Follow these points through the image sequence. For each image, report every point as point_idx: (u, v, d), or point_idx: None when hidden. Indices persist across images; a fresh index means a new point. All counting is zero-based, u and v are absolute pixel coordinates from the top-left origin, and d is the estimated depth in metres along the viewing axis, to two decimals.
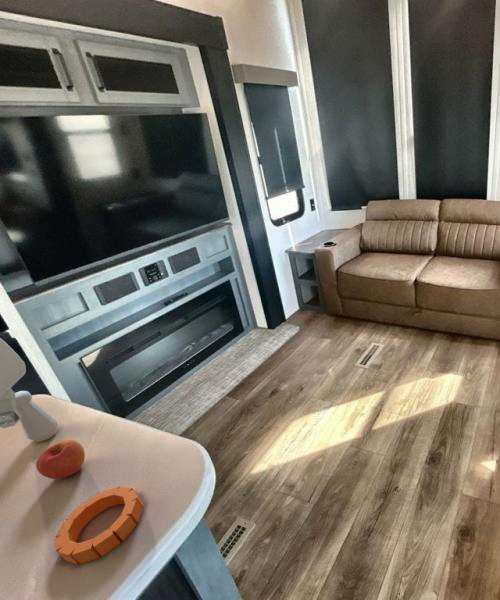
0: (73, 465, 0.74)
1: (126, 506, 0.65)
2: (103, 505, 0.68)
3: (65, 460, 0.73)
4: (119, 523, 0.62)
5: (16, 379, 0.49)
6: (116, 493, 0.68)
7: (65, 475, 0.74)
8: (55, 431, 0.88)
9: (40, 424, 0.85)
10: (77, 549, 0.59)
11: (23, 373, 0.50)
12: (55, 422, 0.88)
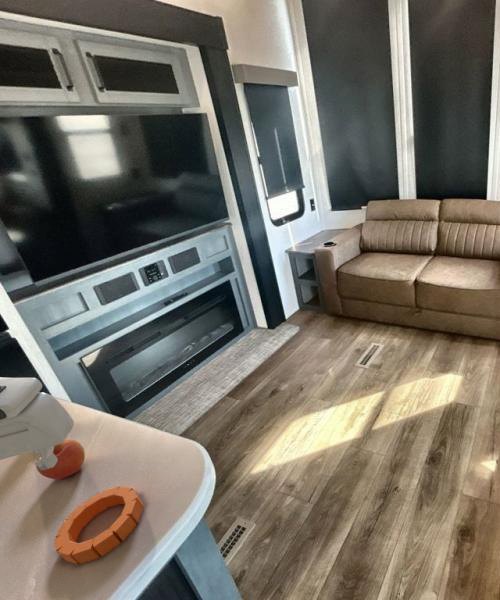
0: (73, 465, 0.74)
1: (126, 506, 0.65)
2: (103, 505, 0.68)
3: (65, 460, 0.73)
4: (119, 523, 0.62)
5: None
6: (116, 493, 0.68)
7: (65, 475, 0.74)
8: None
9: None
10: (77, 549, 0.59)
11: None
12: None
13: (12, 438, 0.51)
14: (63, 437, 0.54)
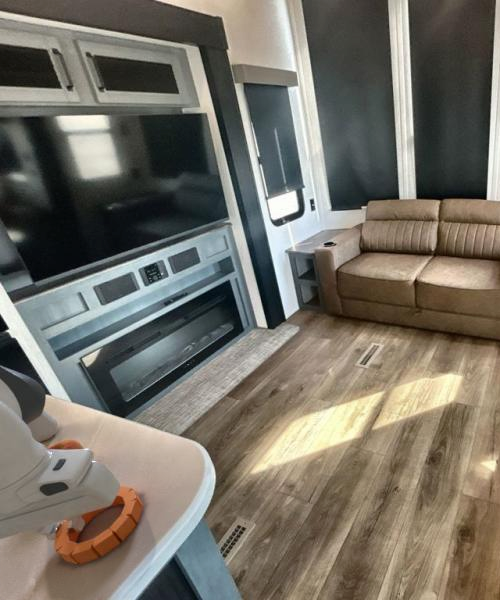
0: None
1: (126, 506, 0.65)
2: None
3: None
4: (119, 523, 0.62)
5: None
6: None
7: None
8: (55, 431, 0.88)
9: (40, 424, 0.85)
10: (77, 549, 0.59)
11: None
12: (55, 422, 0.88)
13: (70, 504, 0.59)
14: (112, 500, 0.61)
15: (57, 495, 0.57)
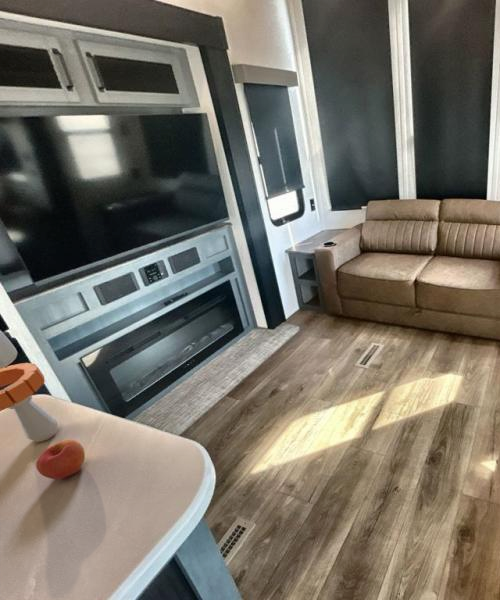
0: (73, 465, 0.74)
1: (24, 375, 0.69)
2: (6, 378, 0.72)
3: (65, 460, 0.73)
4: (13, 386, 0.66)
5: None
6: (19, 367, 0.72)
7: (65, 475, 0.74)
8: (55, 431, 0.88)
9: (40, 424, 0.85)
10: None
11: None
12: (55, 422, 0.88)
13: None
14: (6, 362, 0.65)
15: None
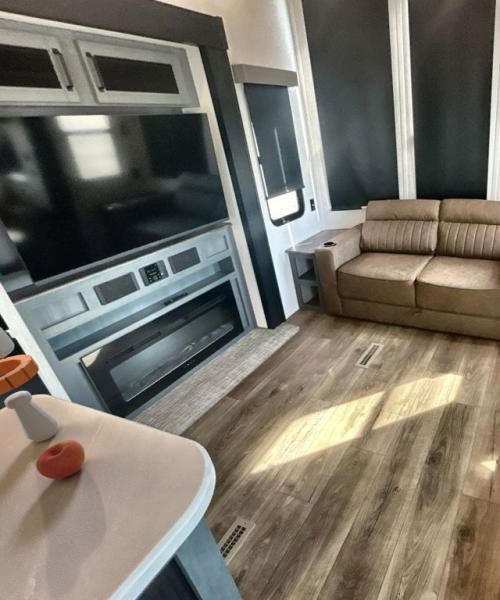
0: (73, 465, 0.74)
1: (21, 364, 0.80)
2: (5, 368, 0.83)
3: (65, 460, 0.73)
4: (11, 373, 0.77)
5: None
6: (16, 358, 0.83)
7: (65, 475, 0.74)
8: (55, 431, 0.88)
9: (40, 424, 0.85)
10: None
11: None
12: (55, 422, 0.88)
13: None
14: (5, 353, 0.76)
15: None
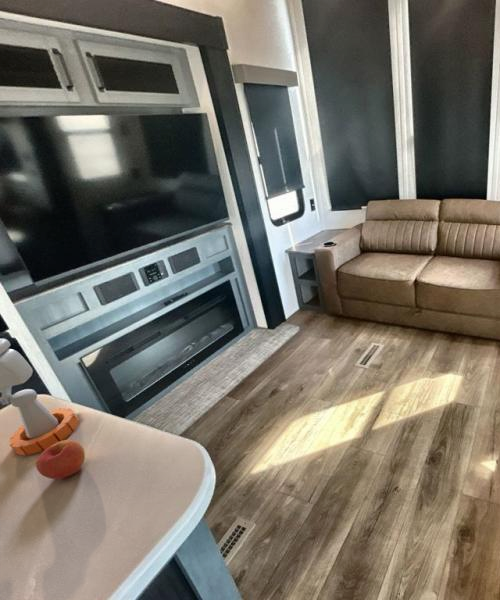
0: (73, 465, 0.74)
1: (64, 418, 0.88)
2: None
3: (65, 460, 0.73)
4: (58, 428, 0.85)
5: None
6: (58, 412, 0.91)
7: (65, 475, 0.74)
8: None
9: (43, 423, 0.85)
10: (25, 443, 0.82)
11: None
12: (56, 422, 0.88)
13: None
14: (24, 379, 0.80)
15: None
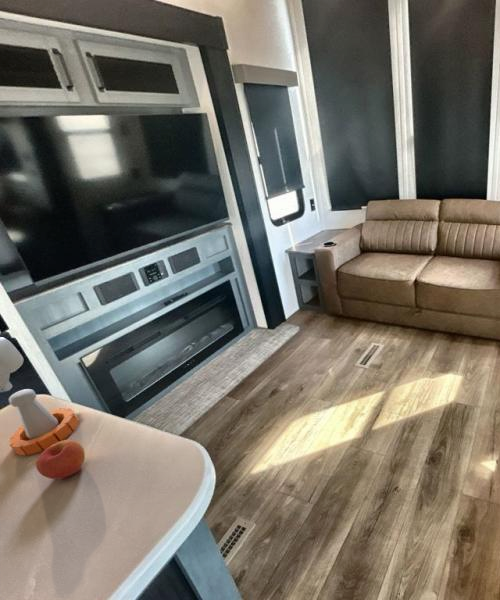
0: (73, 465, 0.74)
1: (64, 418, 0.88)
2: None
3: (65, 460, 0.73)
4: (58, 428, 0.85)
5: None
6: (58, 412, 0.91)
7: (65, 475, 0.74)
8: None
9: (42, 423, 0.85)
10: (25, 443, 0.82)
11: None
12: (56, 421, 0.88)
13: None
14: (14, 367, 0.78)
15: None
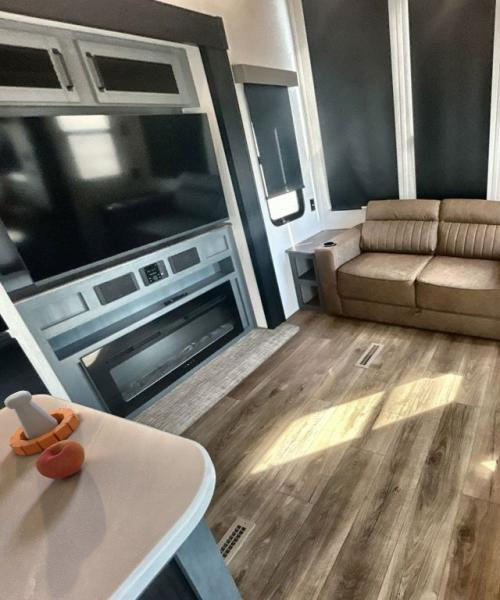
0: (73, 465, 0.74)
1: (64, 418, 0.88)
2: None
3: (65, 460, 0.73)
4: (58, 428, 0.85)
5: None
6: (58, 412, 0.91)
7: (65, 475, 0.74)
8: None
9: (40, 424, 0.85)
10: (25, 443, 0.82)
11: None
12: (55, 422, 0.88)
13: None
14: None
15: None
